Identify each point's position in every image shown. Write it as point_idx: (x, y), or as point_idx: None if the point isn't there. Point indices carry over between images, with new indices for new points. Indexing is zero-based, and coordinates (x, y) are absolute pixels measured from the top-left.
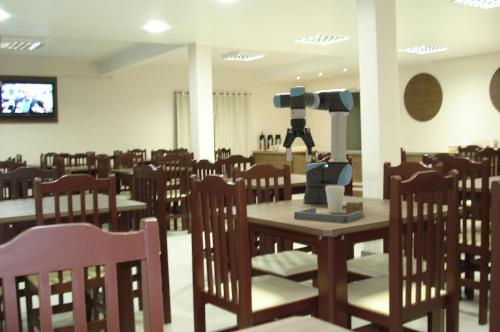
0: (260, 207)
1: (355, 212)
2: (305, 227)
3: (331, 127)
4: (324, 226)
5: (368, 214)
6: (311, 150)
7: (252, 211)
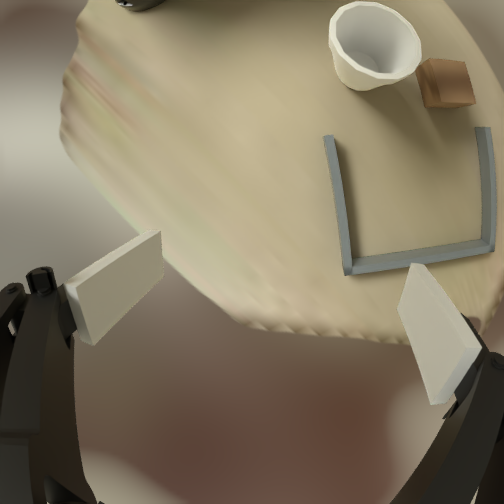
0: (103, 162)
1: (492, 175)
2: None
3: None
4: None
5: None
6: (482, 347)
7: None
